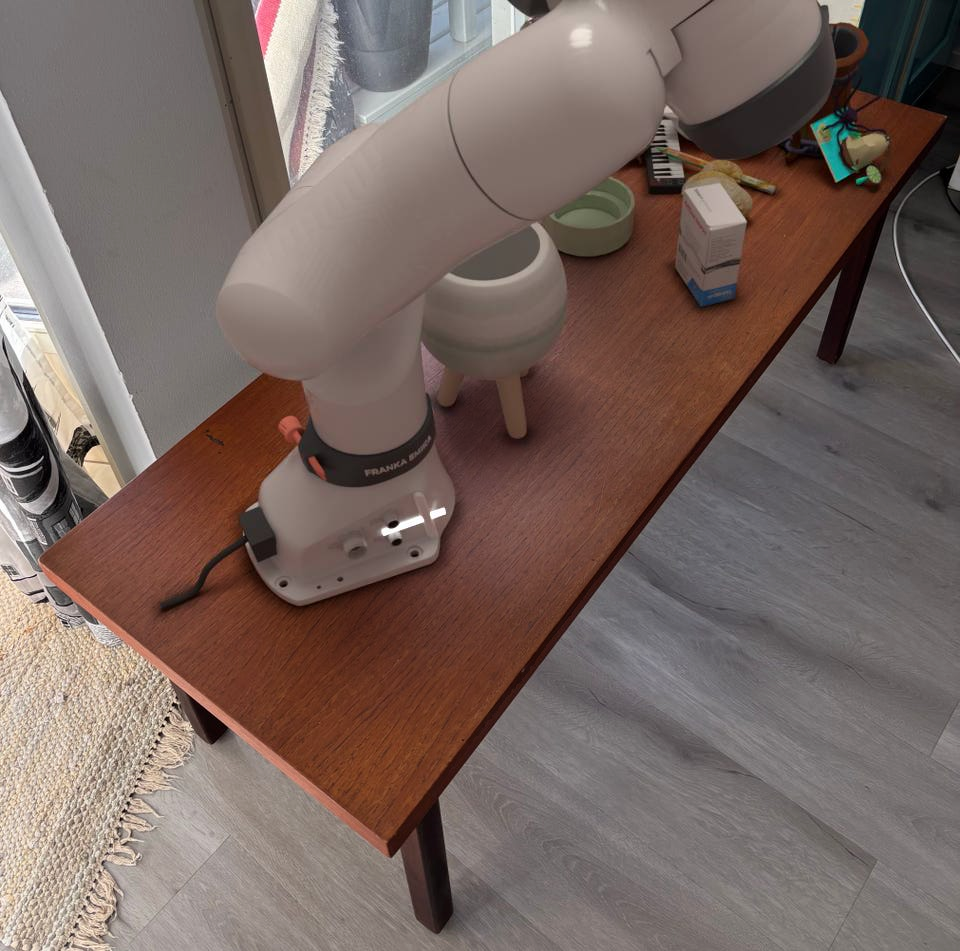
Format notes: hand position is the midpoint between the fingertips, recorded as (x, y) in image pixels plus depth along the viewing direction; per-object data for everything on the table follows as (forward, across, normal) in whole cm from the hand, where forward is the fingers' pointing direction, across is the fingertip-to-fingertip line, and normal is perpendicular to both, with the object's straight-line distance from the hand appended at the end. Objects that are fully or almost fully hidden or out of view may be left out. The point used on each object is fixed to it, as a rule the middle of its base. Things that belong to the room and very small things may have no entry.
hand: (595, 107), depth 117 cm
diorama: (+14, +38, -6) cm, 41 cm away
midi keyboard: (+18, +21, +7) cm, 29 cm away
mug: (+18, +37, -1) cm, 41 cm away
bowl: (+18, 0, +1) cm, 19 cm away
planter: (+19, -27, -19) cm, 38 cm away
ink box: (+19, +6, -16) cm, 25 cm away
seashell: (+19, +17, -6) cm, 26 cm away
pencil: (+16, +17, +9) cm, 25 cm away
